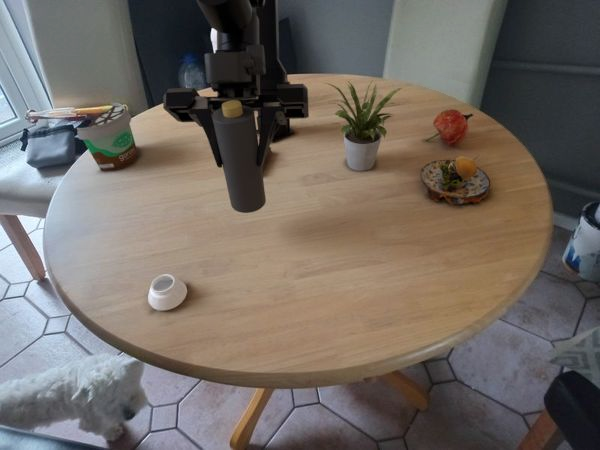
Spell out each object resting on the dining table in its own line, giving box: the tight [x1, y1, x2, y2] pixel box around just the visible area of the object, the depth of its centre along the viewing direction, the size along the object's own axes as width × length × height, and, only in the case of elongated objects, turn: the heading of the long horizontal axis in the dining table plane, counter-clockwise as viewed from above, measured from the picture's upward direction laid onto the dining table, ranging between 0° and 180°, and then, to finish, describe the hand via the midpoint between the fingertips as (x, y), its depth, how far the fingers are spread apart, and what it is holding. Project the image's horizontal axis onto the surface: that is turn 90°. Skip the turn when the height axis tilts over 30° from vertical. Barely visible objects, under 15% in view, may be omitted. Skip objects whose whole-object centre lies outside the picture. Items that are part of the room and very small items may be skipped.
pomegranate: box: [425, 108, 474, 147], centre depth 76 cm, size 7×7×10 cm
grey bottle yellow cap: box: [212, 100, 267, 214], centre depth 50 cm, size 5×5×15 cm
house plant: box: [324, 79, 403, 172], centre depth 68 cm, size 14×14×16 cm
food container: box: [76, 102, 139, 172], centre depth 75 cm, size 12×6×10 cm, turn 168°
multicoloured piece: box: [420, 155, 491, 206], centre depth 64 cm, size 12×12×8 cm
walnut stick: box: [262, 146, 272, 171], centre depth 74 cm, size 9×2×2 cm, turn 167°
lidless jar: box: [147, 273, 188, 311], centre depth 49 cm, size 5×3×5 cm
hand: (239, 166), depth 49 cm, fingers closed on grey bottle yellow cap, 5 cm apart
